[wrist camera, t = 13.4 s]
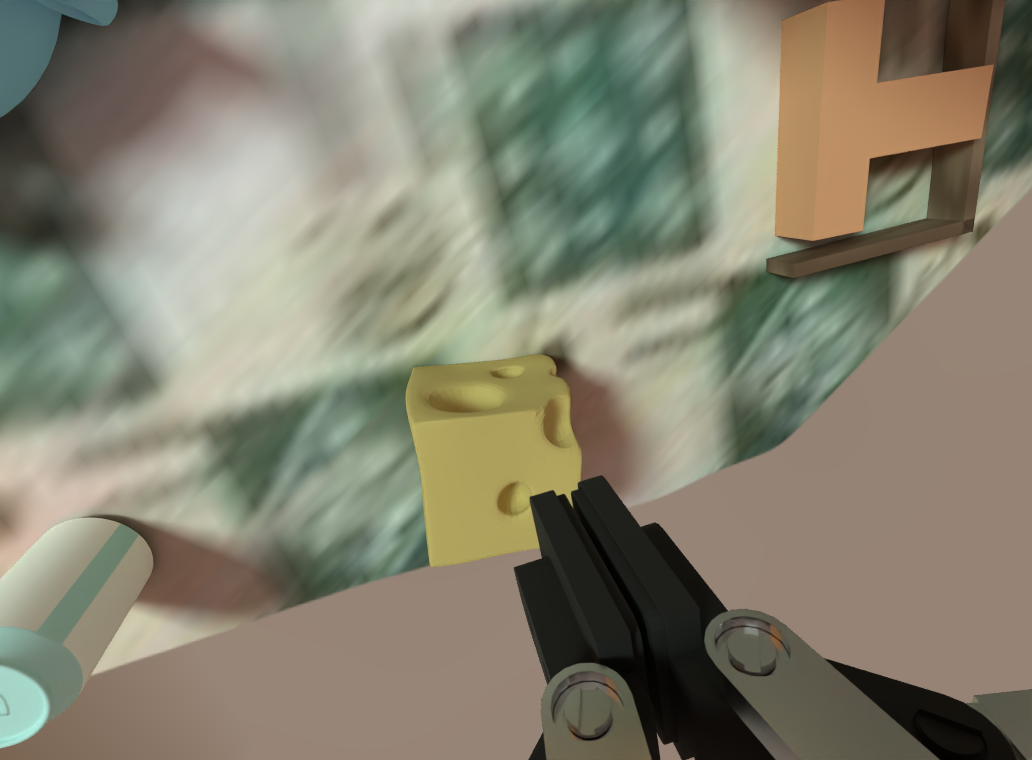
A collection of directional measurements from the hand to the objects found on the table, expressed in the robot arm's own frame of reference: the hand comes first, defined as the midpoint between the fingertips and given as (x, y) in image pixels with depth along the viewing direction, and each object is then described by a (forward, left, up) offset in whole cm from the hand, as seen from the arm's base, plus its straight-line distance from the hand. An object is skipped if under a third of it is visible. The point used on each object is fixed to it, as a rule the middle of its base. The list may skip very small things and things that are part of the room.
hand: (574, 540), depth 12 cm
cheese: (+10, 0, -27) cm, 29 cm away
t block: (-5, +32, -27) cm, 42 cm away
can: (+12, -28, -27) cm, 41 cm away
